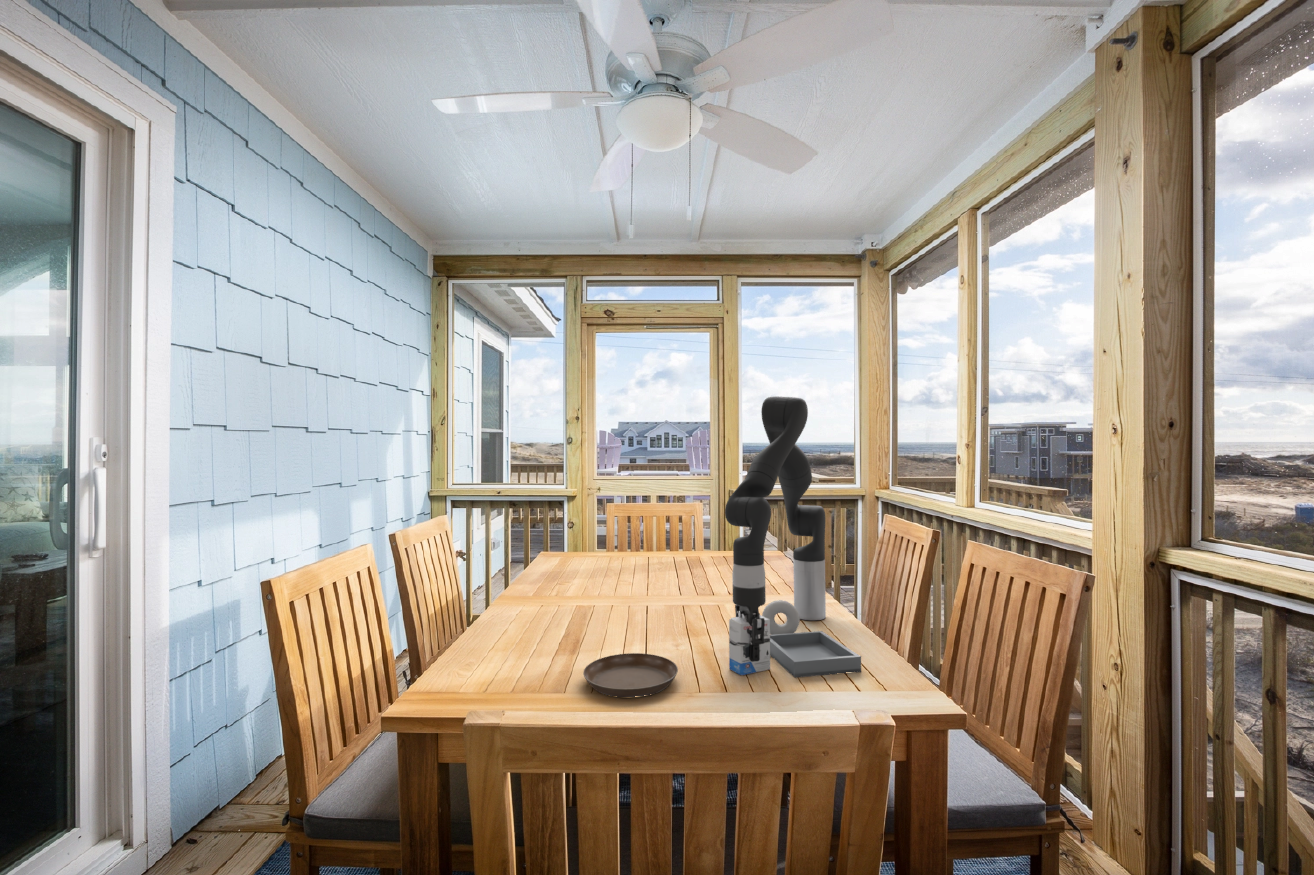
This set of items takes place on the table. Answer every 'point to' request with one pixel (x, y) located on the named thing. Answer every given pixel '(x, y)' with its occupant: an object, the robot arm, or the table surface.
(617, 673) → the plant saucer
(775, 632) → the donut
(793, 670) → the tray
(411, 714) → the table surface
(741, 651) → the ink box
